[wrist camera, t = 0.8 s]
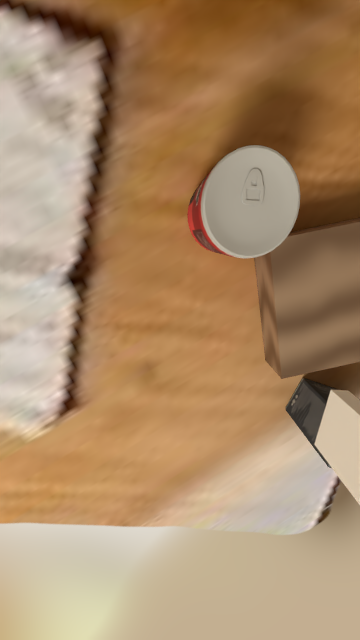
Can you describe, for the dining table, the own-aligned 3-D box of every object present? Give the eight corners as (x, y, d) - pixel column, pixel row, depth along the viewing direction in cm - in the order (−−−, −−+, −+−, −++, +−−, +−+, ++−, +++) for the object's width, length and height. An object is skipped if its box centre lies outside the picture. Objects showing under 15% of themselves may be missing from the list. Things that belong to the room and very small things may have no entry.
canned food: (246, 169, 29) (295, 131, 19) (257, 243, 32) (306, 245, 21) (178, 186, 29) (190, 158, 19) (195, 259, 32) (213, 269, 21)
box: (283, 409, 39) (327, 468, 29) (302, 376, 38) (354, 426, 28) (328, 423, 41) (385, 484, 30) (347, 392, 39) (413, 445, 29)
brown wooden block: (252, 240, 32) (269, 240, 27) (383, 212, 32) (422, 208, 27) (265, 360, 36) (281, 378, 32) (378, 335, 37) (411, 350, 32)
